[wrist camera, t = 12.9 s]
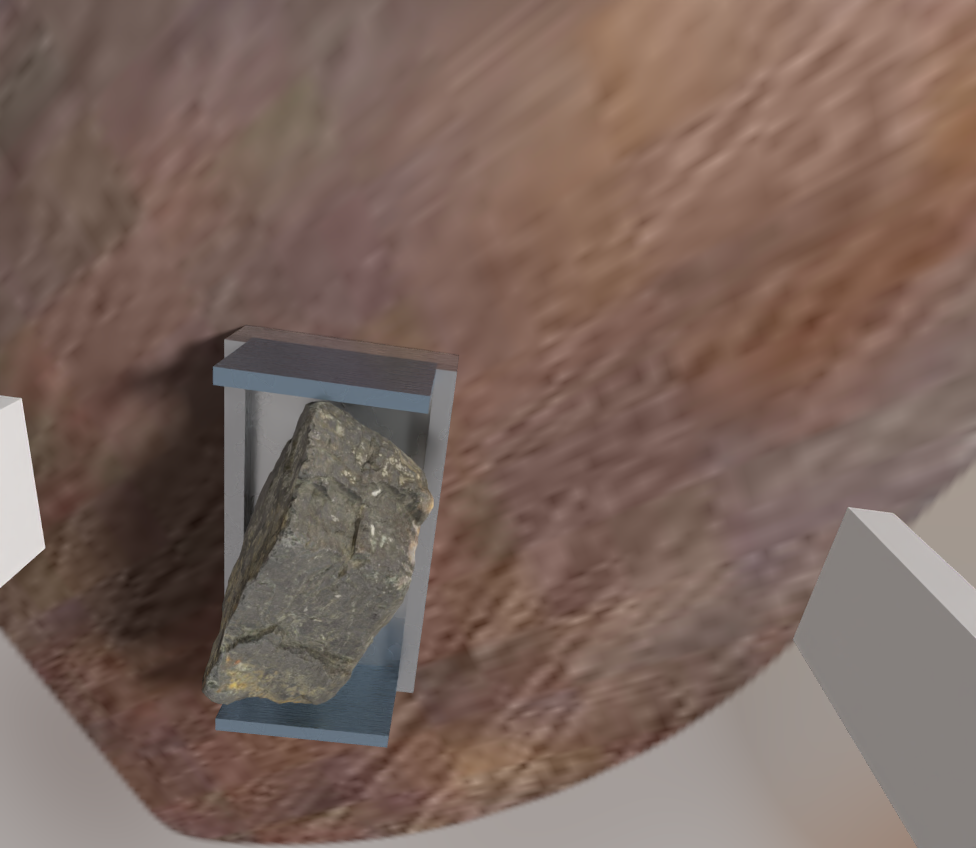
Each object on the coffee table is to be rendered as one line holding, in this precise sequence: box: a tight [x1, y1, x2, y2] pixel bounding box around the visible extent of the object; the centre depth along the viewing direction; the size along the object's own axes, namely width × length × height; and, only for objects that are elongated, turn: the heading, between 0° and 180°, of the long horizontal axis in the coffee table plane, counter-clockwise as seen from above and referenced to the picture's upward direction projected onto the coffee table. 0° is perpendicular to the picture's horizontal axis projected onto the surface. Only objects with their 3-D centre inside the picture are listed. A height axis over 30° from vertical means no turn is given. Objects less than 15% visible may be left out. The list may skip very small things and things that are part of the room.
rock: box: [202, 401, 434, 705], centre depth 31 cm, size 17×7×10 cm
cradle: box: [213, 325, 459, 747], centre depth 34 cm, size 20×11×7 cm, turn 172°
